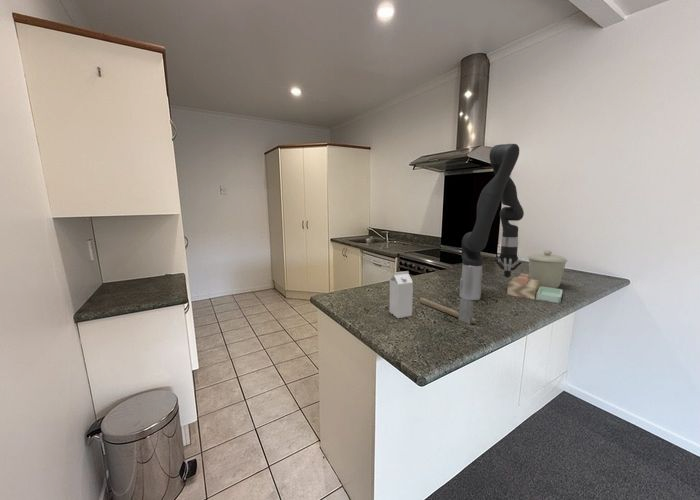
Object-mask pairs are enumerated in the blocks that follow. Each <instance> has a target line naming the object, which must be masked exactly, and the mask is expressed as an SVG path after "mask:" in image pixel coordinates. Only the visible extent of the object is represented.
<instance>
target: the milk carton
mask: <svg viewBox="0 0 700 500" xmlns="http://www.w3.org/2000/svg"><path fill="white" fill-rule="evenodd" d="M409 273H410V272H409V270H406V271H396V272H393V274H392V275H393V276H391V278H390V279H389V313H390V314H391V315H392V314H393V315H392V316H394V317H395V318H396V319H401V318H408V317H412V316H413V295H414V292H413V291H414V290H413V288H414V285H413V284H414V282H413V279H412V277H411V276H410V274H409Z"/></svg>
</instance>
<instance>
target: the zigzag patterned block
mask: <svg viewBox="0 0 700 500" xmlns="http://www.w3.org/2000/svg"><path fill="white" fill-rule="evenodd" d="M538 289H539V280H531V279H530V278H529V281H528V282H527V284H526V285H524V284H518V283H517V277H516V276H515V277H514V276H513V277H512V278H511V280H510V281H508V283H507V290H506V291H507V293H506V295H507V296H513V297H518V298H524V297H525V299H529V298H530V300H536V294H537V292H538Z"/></svg>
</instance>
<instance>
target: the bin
mask: <svg viewBox="0 0 700 500" xmlns="http://www.w3.org/2000/svg"><path fill="white" fill-rule="evenodd" d="M562 296H563V289H562V288H561V289H560V288H549V287H542V286H540V287H539V289H538V292H537V294H536V298H535V300H536V301H541V302H548V303H554V304H558V305H561V302H562V301H561V300H562Z"/></svg>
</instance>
